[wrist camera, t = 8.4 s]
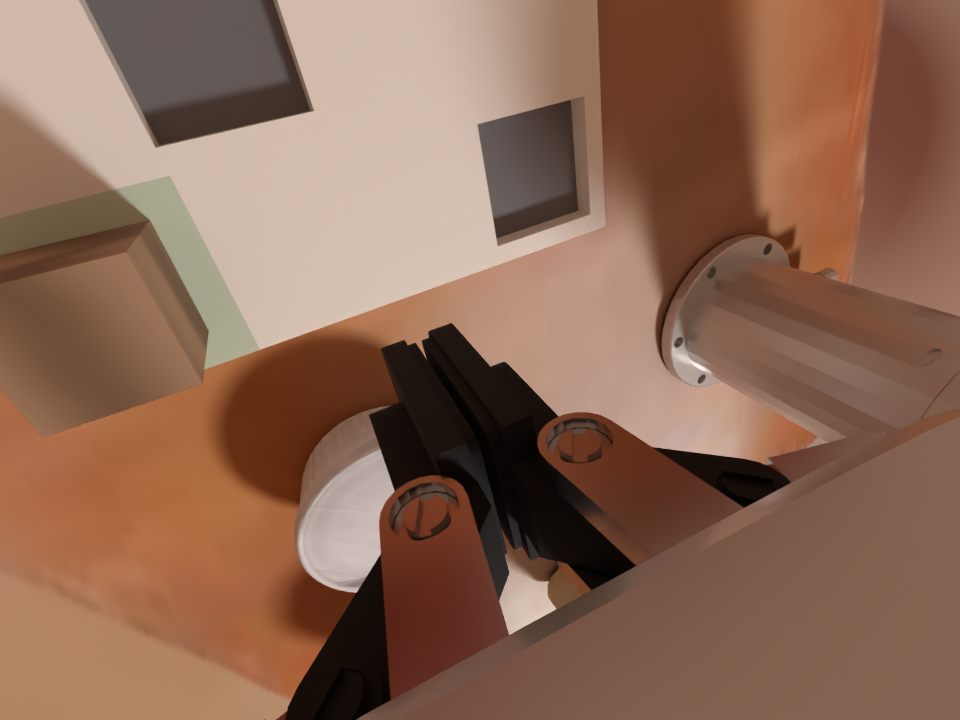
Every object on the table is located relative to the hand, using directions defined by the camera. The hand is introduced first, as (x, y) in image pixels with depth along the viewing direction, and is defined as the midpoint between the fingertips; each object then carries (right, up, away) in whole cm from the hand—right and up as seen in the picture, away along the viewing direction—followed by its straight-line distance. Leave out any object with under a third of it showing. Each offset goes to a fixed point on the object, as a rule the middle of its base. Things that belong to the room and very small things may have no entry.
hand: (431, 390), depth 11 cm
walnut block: (-14, +3, +8) cm, 16 cm away
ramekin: (-6, -6, +20) cm, 21 cm away
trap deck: (-6, +11, +10) cm, 16 cm away
